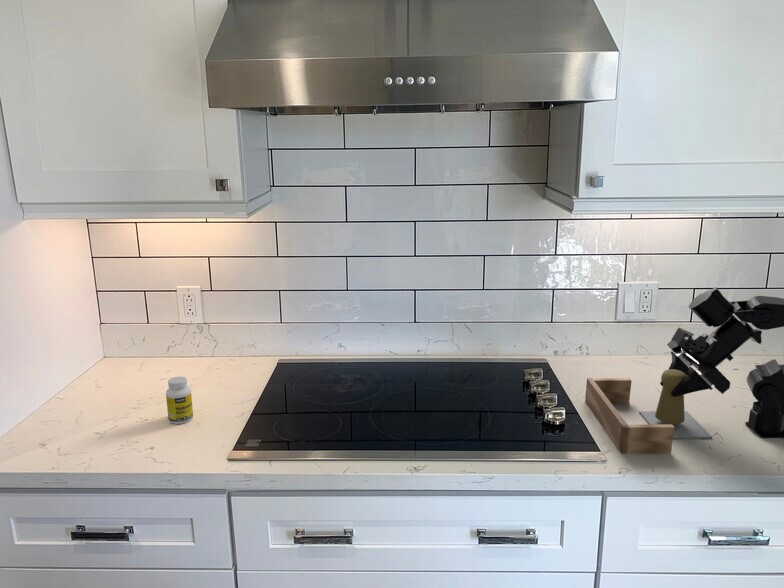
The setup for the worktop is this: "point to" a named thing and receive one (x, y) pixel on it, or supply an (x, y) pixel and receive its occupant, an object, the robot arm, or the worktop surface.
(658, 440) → the walnut u-shaped bracket
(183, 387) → the supplement bottle
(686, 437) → the grey mat
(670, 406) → the olive game pawn
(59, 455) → the worktop surface
